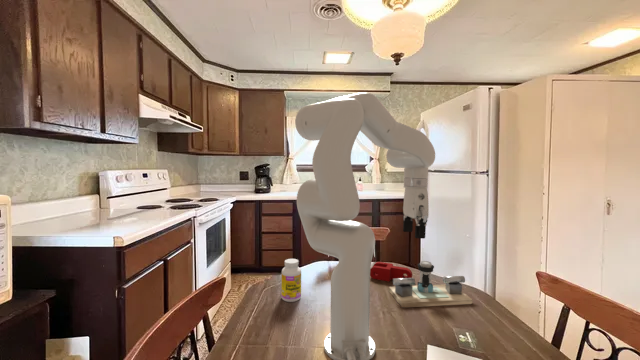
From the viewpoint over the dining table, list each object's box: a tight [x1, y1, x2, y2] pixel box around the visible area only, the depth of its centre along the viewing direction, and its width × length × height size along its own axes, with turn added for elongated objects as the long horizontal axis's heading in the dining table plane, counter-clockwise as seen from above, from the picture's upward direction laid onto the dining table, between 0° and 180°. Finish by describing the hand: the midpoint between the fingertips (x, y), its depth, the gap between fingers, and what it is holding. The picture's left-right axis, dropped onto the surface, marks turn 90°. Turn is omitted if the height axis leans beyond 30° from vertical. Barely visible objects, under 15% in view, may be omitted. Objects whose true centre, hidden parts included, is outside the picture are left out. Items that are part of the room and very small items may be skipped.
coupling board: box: [388, 283, 474, 308], centre depth 98 cm, size 12×24×2 cm, turn 96°
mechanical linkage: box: [370, 261, 413, 282], centre depth 114 cm, size 16×7×5 cm, turn 66°
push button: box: [416, 260, 437, 293], centre depth 98 cm, size 7×5×10 cm
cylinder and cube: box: [392, 275, 466, 297], centre depth 97 cm, size 5×25×5 cm, turn 96°
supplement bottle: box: [280, 258, 302, 303], centre depth 96 cm, size 7×7×13 cm
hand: (413, 234), depth 95 cm, fingers open, 9 cm apart
